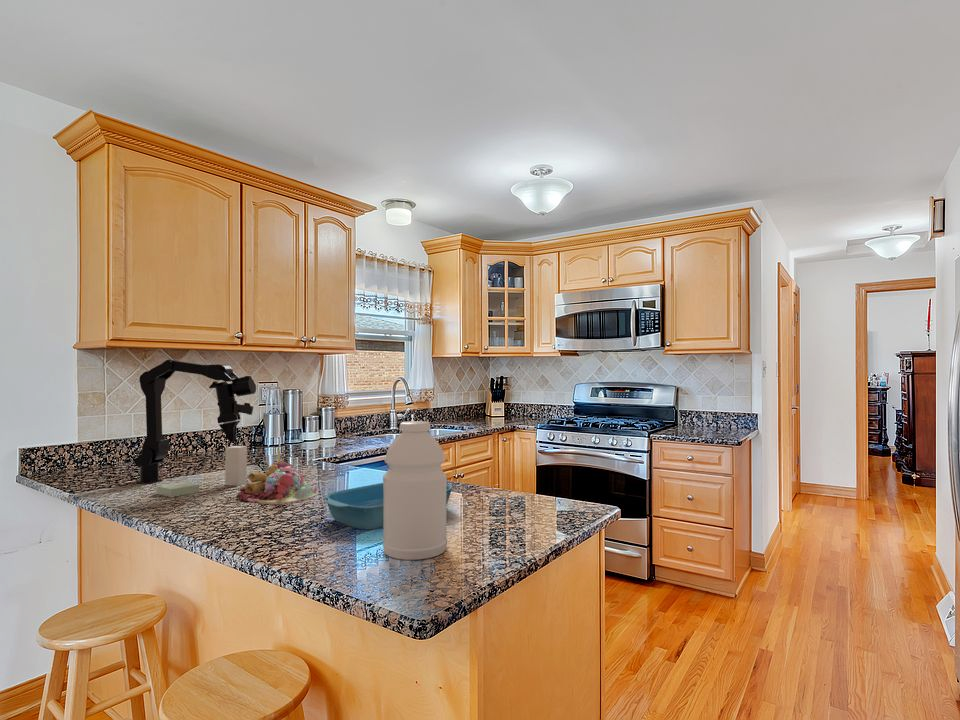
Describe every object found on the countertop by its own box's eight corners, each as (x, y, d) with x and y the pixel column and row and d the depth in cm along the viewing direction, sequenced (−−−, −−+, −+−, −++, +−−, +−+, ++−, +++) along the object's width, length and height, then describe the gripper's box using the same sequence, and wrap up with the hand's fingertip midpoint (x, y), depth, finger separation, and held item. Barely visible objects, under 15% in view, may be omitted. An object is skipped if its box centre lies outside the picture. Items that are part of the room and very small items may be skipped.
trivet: (156, 493, 175) (156, 486, 175) (184, 488, 183) (184, 481, 183) (170, 497, 170) (171, 489, 170) (199, 492, 178) (199, 484, 178)
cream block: (225, 485, 189) (225, 447, 189) (233, 482, 194) (233, 445, 194) (238, 485, 188) (239, 447, 189) (246, 482, 193) (246, 446, 194)
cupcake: (287, 484, 190) (288, 450, 191) (263, 484, 190) (264, 449, 191) (296, 479, 199) (296, 446, 199) (273, 479, 199) (273, 446, 199)
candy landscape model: (220, 501, 166) (221, 471, 166) (271, 486, 189) (271, 459, 189) (290, 507, 159) (290, 475, 159) (334, 490, 181) (334, 463, 181)
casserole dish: (356, 539, 127) (356, 508, 128) (308, 521, 143) (308, 494, 143) (467, 510, 154) (467, 485, 154) (416, 498, 169) (416, 475, 170)
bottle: (447, 540, 126) (447, 419, 127) (446, 560, 112) (446, 425, 113) (387, 540, 125) (387, 419, 126) (377, 561, 112) (378, 425, 112)
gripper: (248, 394, 190) (256, 438, 190) (251, 395, 207) (258, 435, 207) (214, 399, 186) (221, 444, 186) (219, 400, 203) (226, 441, 203)
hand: (233, 441), depth 195 cm, fingers open, 9 cm apart
